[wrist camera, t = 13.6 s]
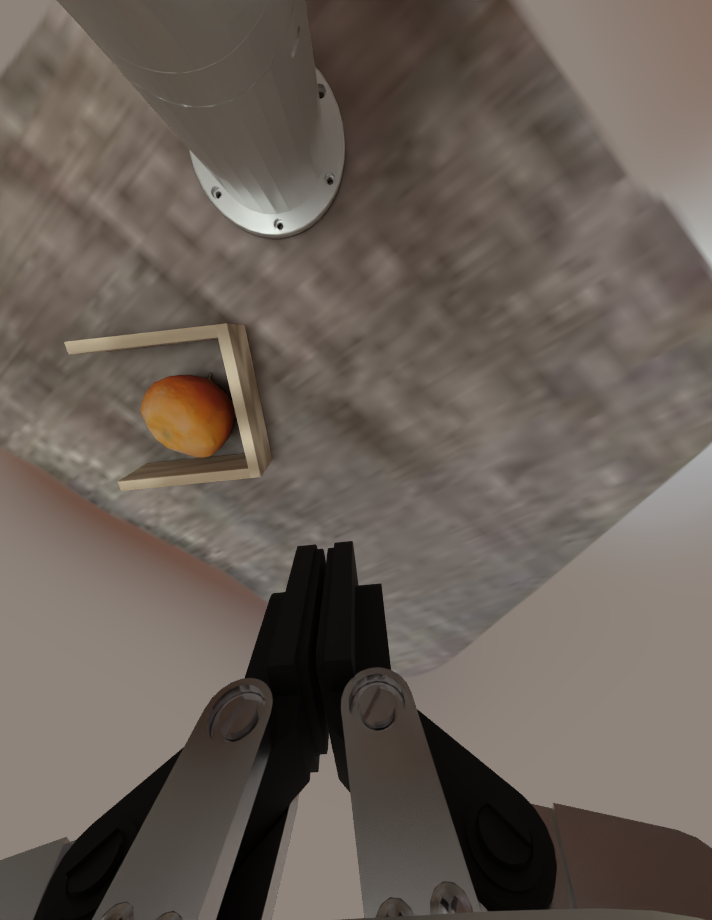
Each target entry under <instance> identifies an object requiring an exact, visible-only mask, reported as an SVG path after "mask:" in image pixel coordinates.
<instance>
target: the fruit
mask: <svg viewBox="0 0 712 920" xmlns="http://www.w3.org/2000/svg"><path fill="white" fill-rule="evenodd" d="M211 374H212V373H210V375H209V376H208V378H207V379H206V378H203V377H199V376H193V375H177V376H169V377H166V378H164V379H162V380H160V381H157V382H155V383H153V385H152V386H151V387H150V388H149V389H148V390H147V392H146V394H145V395H144V398H143V401H142V405H141V414H142V416H143V418H144V420H145V422H146V425H147V428H148V429H149V430H150V432H151V433H152V434H153V436H154V437H155V438H156V439H157V440H158V441H159V442H161V443H162V444H164V445H165V446H166V447H167V448H169V449H172V450H175V451H178V452H181V453H183V454H187V455H190V456H193V457H210V456H211V455H213V454H214V453H215V452H216V451H217V450H219V449H220V448H221V447H222V445H223V444H224V443H225V442H226V440H227V439H228V437H229V435H230V433H231V430H232V427H233V422H234V415H235V414H234V404H233V402H232V401H231V400H230V399H229V397H228V395H227V394H226V393H225V392H224V391H223V390H221V389H220V388H219V387H217V386H216V385H215V384H214V383H213V381H212V380H211V378H210V377H211Z"/></svg>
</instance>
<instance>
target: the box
mask: <svg viewBox="0 0 712 920" xmlns="http://www.w3.org/2000/svg"><path fill="white" fill-rule="evenodd" d="M215 339H218V340H219V344H220V349H221V353H222V357H223V361H224V366H225V370H226V374H227V379H228V383H229V387H230V391H231V396H232V400H233V404H234V409H235V413H236V417H237V421H238V426H239V430H240V434H241V439H242V443H243V447H244V452H245V453H244V454H234V455H224V456H215V457H205V458H195V459H185V460H176V461H166V462H156V463H147V464H145V465H144V466H142V467H140V468H139V469H137V470H136V471H134V472H132V473H131V474H129V475H128V476H126V477H125V478H123V479H121V480H120V481H118V484H119V486H120V489H121V491H126V490H135V489H145V488H155V487H165V486H175V485H185V484H195V483H205V482H215V481H225V480H235V479H245V478H255V477H261V476H262V474H263V473H264V471H265V470H266V468H267V466H268V465H269V463H270V462H271V460H272V456H271V451H270V446H269V441H268V436H267V431H266V426H265V422H264V417H263V412H262V407H261V402H260V397H259V392H258V387H257V382H256V378H255V373H254V368H253V363H252V358H251V353H250V348H249V343H248V338H247V334H246V329H245V325H239V324H228V323H226V324H217V325H209V326H200V327H191V328H183V329H174V330H165V331H156V332H148V333H139V334H130V335H121V336H113V337H104V338H95V339H87V340H78V341H69V342H64V343H65V346H66V348H67V351H68V353H69V354H81V353H95V352H109V351H117V350H126V349H135V348H144V347H153V346H162V345H170V344H179V343H188V342H197V341H206V340H215Z"/></svg>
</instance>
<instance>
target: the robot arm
mask: <svg viewBox="0 0 712 920" xmlns="http://www.w3.org/2000/svg"><path fill="white" fill-rule="evenodd" d="M57 1H58V2H59V3H60V4H61V5H62V6H63V8H64V9H65V10H66V11H67V12H68V13H69V14H70V15H71V16H72V17H73V18H74V19H75V21H76V22H77V23H78V24H79V25H80V26H81V27H82V28H83V29H84V31H85V32H86V33H87V34H88V35H89V36H90V37H91V38H92V40H93V41H94V42H95V43H96V44H97V45H98V46H99V47H100V48H101V50H102V51H103V52H104V53H105V54H106V55H107V56H108V57H109V59H110V60H111V61H112V62H113V63H114V65H115V66H116V67H117V68H118V69H119V70H120V72H121V73H122V74H123V75H124V76H125V77H126V78H127V79H128V81H129V82H130V83H131V84H132V85H133V86H134V87H135V88H136V90H137V91H138V92H139V93H140V94H141V95H142V96H143V97H144V99H145V100H146V101H147V102H148V103H149V104H150V105H151V106H152V108H153V109H154V110H155V111H156V112H157V113H158V114H159V116H160V117H161V118H162V119H163V120H164V121H165V122H166V123H167V125H168V126H169V127H170V128H171V129H172V130H173V131H174V132H175V134H176V135H177V136H178V137H179V138H180V139H181V140H182V141H183V143H184V144H185V145H186V146H187V147H188V148H189V153H190V157H191V161H192V164H193V167H194V171H195V173H196V176H197V178H198V180H199V182H200V184H201V186H202V188H203V190H204V191H205V193H206V194H207V196H208V197H209V199H210V200H211V202H212V203H213V204H214V206H215V207H216V208H217V209H218V210H219V211H220V212H221V213H222V214H223V215H224V216H225V217H226V218H227V219H228V220H230V221H231V222H232V223H233V224H235V225H236V226H238V227H240V228H241V229H243V230H244V231H246V232H249V233H251V234H254V235H257V236H260V237H266V238H286V237H289V236H293V235H296V234H299V233H301V232H303V231H305V230H306V229H308V228H310V227H311V226H312V225H314V224H315V223H316V222H317V221H318V220H319V219H320V218H321V217H322V216H323V215H324V213H325V212H326V211H327V210H328V208H329V207H330V206H331V204H332V202H333V200H334V198H335V196H336V194H337V192H338V188H339V185H340V182H341V179H342V175H343V168H344V161H345V140H344V130H343V123H342V119H341V115H340V111H339V107H338V104H337V102H336V99H335V97H334V95H333V92H332V90H331V88H330V86H329V84H328V83H327V81H326V80H325V78H324V76H323V75H322V73H321V72H320V71H319V70H318V68H317V67H316V66H315V63H314V57H313V50H312V43H311V36H310V29H309V22H308V15H307V8H306V1H305V0H57ZM320 95H323V96H324V98H322V99H320V98H319V96H320ZM328 180H332V181H333V184H331V185H328V184H327V182H328ZM218 194H222V196H221V197H220V198H219V199H218ZM280 224H282V225H283V229H282V230H279V229H278V226H279V225H280ZM329 735H330V739H331V744H332V749H333V753H334V758H335V763H336V767H337V772H338V777H339V780H340V781H341V782H342V783H343V785H344V786H345V787H346V788H347V789H348V791H349V792H350V793H351V802H352V811H353V820H354V829H355V838H356V847H357V856H358V864H359V873H360V882H361V891H362V900H363V909H364V918H362V919H345V920H712V848H711V847H709V846H708V845H707V844H705V843H703V842H702V841H701V840H699V839H698V838H696V837H693V836H691V835H689V834H686V833H684V832H681V831H679V830H675V829H670V828H666V827H661V826H657V825H652V824H648V823H643V822H638V821H634V820H630V819H624V818H620V817H616V816H611V815H607V814H602V813H598V812H593V811H588V810H584V809H579V808H575V807H570V806H565V805H561V804H556V803H553V806H552V808H548V807H543V806H539V805H534V804H530V803H529V802H528V801H527V799H525V797H523V795H522V794H520V793H519V792H518V791H517V790H516V789H514V788H513V787H512V786H511V785H509V784H508V783H507V782H506V781H504V780H503V779H502V778H501V777H499V776H498V775H497V774H496V773H495V772H493V771H492V770H491V769H489V767H487V766H486V765H485V764H484V763H482V762H481V761H480V760H479V759H478V758H476V757H475V756H474V755H472V754H471V753H470V752H469V751H468V750H466V749H465V748H464V747H462V746H461V745H460V744H459V743H458V742H457V741H455V740H454V739H453V738H452V737H451V736H449V735H448V734H447V733H446V732H444V731H443V730H442V729H441V728H440V727H438V726H437V725H435V723H433V722H432V721H431V720H430V719H428V718H427V717H426V716H425V715H424V714H422V713H421V712H420V711H419V710H417V709H416V705H415V702H414V699H413V696H412V693H411V691H410V689H409V686H408V684H407V682H406V681H405V680H404V679H403V678H402V677H401V676H400V675H399V674H397V673H395V672H393V671H392V670H391V666H390V657H389V648H388V639H387V630H386V621H385V612H384V603H383V594H382V586H381V584H371V585H360V586H358V579H357V571H356V563H355V555H354V547H353V542H352V541H348V542H338V543H335V544H334V548H328V552H327V561H325V555H324V550H323V549H317V546H316V545H306V546H298V547H297V550H296V554H295V557H294V561H293V565H292V569H291V573H290V576H289V580H288V584H287V588H286V592H282V593H273V594H272V595H271V597H270V600H269V603H268V606H267V609H266V612H265V615H264V619H263V622H262V626H261V628H260V631H259V634H258V638H257V641H256V644H255V647H254V650H253V653H252V657H251V660H250V663H249V666H248V669H247V672H246V676H245V679H240V680H237V681H234V682H232V683H230V684H228V685H227V686H225V687H224V688H222V689H221V690H220V691H219V692H218V693H217V694H216V695H215V696H214V697H212V699H211V700H210V702H209V703H208V705H207V706H206V707H205V709H204V711H203V713H202V714H201V716H200V718H199V720H198V722H197V724H196V726H195V727H194V729H193V731H192V733H191V735H190V737H189V739H188V741H187V742H186V744H185V746H184V747H183V748H182V749H181V750H180V751H179V752H177V753H176V754H175V755H174V756H173V757H172V758H170V759H169V760H168V761H167V762H166V763H164V764H163V765H162V766H161V767H160V768H158V769H157V770H156V771H155V772H154V773H153V774H151V775H150V776H149V777H148V778H147V779H145V780H144V781H143V782H142V783H141V784H139V785H138V786H137V787H136V788H135V789H133V790H132V791H131V792H130V793H129V794H128V795H126V796H125V797H124V798H123V799H122V800H120V801H119V802H118V803H117V804H116V805H114V807H112V808H111V809H110V810H109V811H107V812H106V813H105V814H104V815H103V816H102V817H101V818H99V819H98V820H97V821H95V823H93V824H92V825H91V826H90V827H89V828H88V829H87V830H86V831H85V832H84V833H83V834H82V835H81V836H80V837H79V838H78V839H77V840H75V841H71V842H70V841H69V840H68V838H67V837H65V838H62V839H59V840H56V841H53V842H50V843H48V844H45V845H42V846H39V847H36V848H34V849H31V850H28V851H25V852H22V853H19V854H17V855H14V856H11V857H8V858H5V859H3V860H0V920H272V916H273V912H274V907H275V903H276V898H277V894H278V890H279V885H280V881H281V877H282V872H283V868H284V864H285V859H286V855H287V850H288V846H289V842H290V838H291V833H292V829H293V824H294V820H295V816H296V811H297V806H298V805H297V804H298V797H299V795H298V794H299V793H300V792H301V791H302V789H303V788H304V787H305V786H306V785H307V783H308V782H309V781H310V772H318V769H319V756H320V754H327V750H328V739H329ZM343 920H344V919H343Z"/></svg>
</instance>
